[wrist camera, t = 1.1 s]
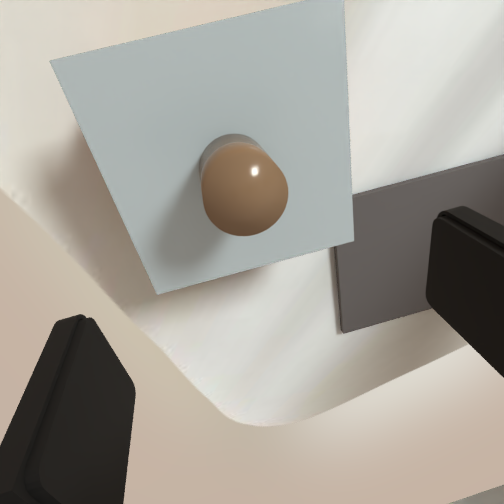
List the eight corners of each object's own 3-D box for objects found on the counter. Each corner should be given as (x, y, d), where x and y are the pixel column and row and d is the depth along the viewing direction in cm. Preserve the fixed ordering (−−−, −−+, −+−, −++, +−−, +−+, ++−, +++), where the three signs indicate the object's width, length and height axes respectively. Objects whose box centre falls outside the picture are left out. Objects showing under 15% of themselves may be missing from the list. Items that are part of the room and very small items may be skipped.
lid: (332, -5, 17) (393, -28, 12) (345, 231, 24) (387, 276, 20) (58, 60, 16) (6, 63, 11) (158, 282, 24) (152, 342, 19)
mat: (522, 149, 30) (528, 151, 29) (490, 287, 38) (494, 290, 38) (330, 200, 29) (333, 203, 29) (341, 329, 38) (343, 333, 37)
